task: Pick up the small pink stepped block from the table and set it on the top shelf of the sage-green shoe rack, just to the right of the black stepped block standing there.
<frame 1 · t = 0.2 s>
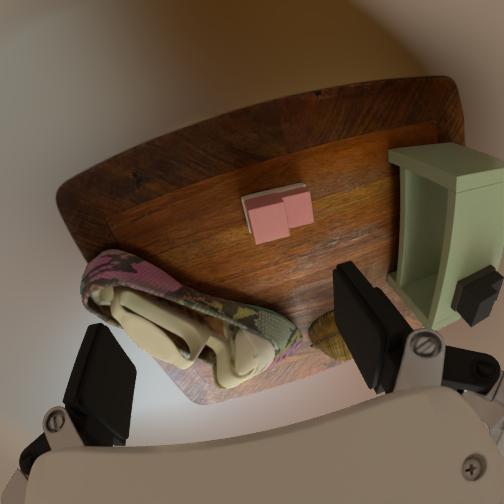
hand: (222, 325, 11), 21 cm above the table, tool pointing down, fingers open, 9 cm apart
seashell: (334, 327, 43), on the table
ballet flat: (202, 303, 37), on the table
black stepped block: (471, 285, 27), point 12 cm above the table, touching shoe rack
pink stepped block: (275, 205, 32), on the table
shoe rack: (422, 214, 35), on the table
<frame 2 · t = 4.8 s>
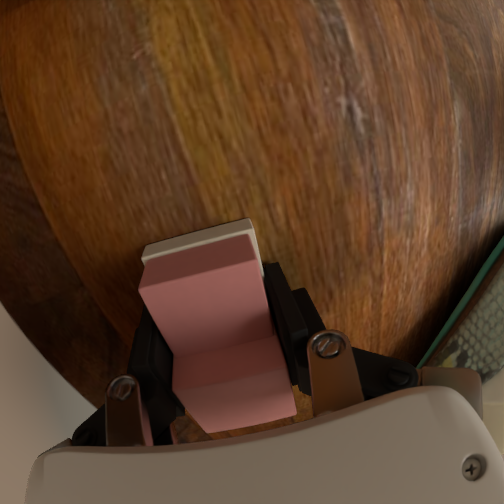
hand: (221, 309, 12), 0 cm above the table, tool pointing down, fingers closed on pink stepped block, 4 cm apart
ballet flat: (401, 373, 18), on the table
pink stepped block: (220, 304, 12), on the table, touching gripper
when the fingers open (12 cm above the table, at t = 11.2 s): pink stepped block stays where it is, resting on shoe rack.
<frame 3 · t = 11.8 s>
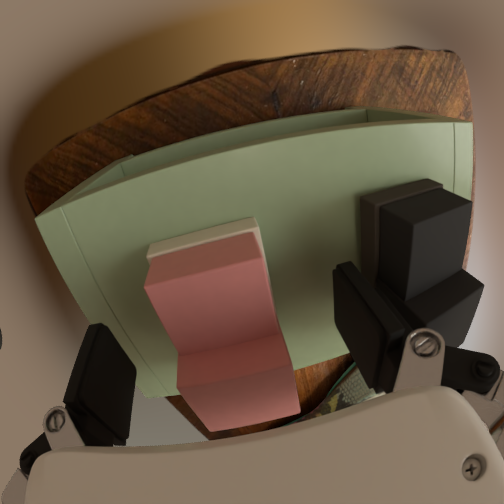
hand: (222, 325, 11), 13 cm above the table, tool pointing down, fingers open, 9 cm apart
ballet flat: (327, 395, 39), on the table
black stepped block: (395, 258, 12), point 12 cm above the table, tilted 7°, touching gripper, shoe rack
pink stepped block: (224, 303, 12), point 12 cm above the table, touching shoe rack
shoe rack: (257, 197, 23), on the table
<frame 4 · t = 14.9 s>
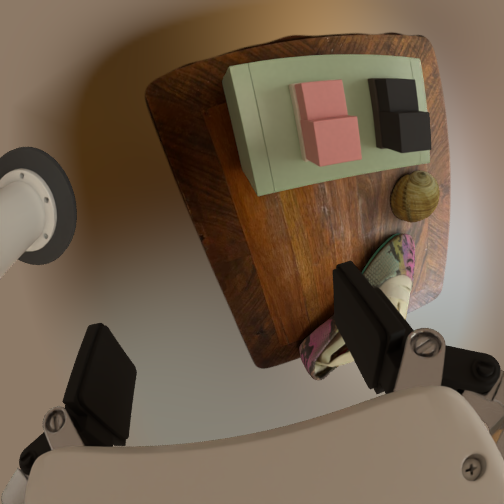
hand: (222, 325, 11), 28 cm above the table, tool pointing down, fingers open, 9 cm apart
seashell: (408, 194, 41), on the table
ballet flat: (352, 297, 50), on the table
black stepped block: (388, 112, 23), point 12 cm above the table, touching shoe rack
pink stepped block: (316, 119, 23), point 12 cm above the table, touching shoe rack
shoe rack: (307, 111, 33), on the table
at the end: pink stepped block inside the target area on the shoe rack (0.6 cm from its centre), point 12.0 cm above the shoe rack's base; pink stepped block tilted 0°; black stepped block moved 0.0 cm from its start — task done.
